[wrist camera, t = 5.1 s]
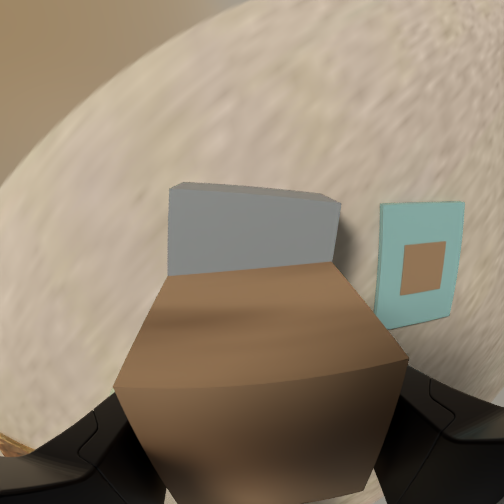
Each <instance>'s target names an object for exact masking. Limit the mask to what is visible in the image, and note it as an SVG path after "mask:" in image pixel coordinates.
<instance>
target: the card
mask: <svg viewBox="0 0 504 504" xmlns="http://www.w3.org/2000/svg"><path fill="white" fill-rule="evenodd" d="M464 207H465V202H461V201H449V202H410V203H383V204H380V232H379V255H378V271H377V284H376V295H375V305H374V314H375V315H376V316H377V317H378V319H379V320H380V321H381V322H382V324H383V325H384V326H385V328H386V329H387V330H388V329H393V328H398V327H402V326H407V325H412V324H416V323H421V322H425V321H430V320H434V319H438V318H442V317H446V316H449V315H450V310H451V305H452V300H453V295H454V290H455V285H456V279H457V273H458V266H459V259H460V251H461V243H462V233H463V222H464Z"/></svg>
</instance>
